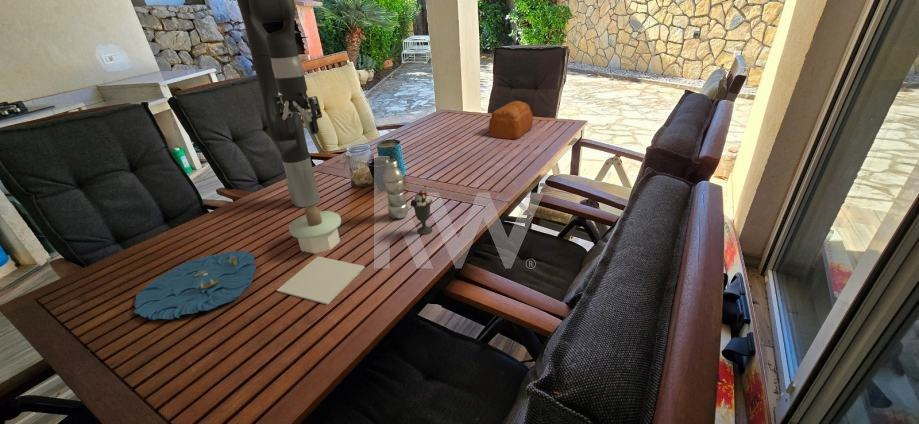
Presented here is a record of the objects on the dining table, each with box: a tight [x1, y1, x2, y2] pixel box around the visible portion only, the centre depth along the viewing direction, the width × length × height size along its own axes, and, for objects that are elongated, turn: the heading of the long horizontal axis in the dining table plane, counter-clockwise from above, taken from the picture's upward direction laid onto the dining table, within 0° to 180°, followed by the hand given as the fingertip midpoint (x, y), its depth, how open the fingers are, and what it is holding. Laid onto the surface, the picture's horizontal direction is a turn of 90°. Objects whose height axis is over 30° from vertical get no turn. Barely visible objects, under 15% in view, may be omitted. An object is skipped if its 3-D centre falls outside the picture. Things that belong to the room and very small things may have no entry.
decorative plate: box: [133, 249, 257, 320], centre depth 105 cm, size 30×30×5 cm
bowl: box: [297, 228, 341, 254], centre depth 121 cm, size 11×12×6 cm
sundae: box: [410, 185, 433, 235], centre depth 122 cm, size 7×7×15 cm
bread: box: [488, 100, 534, 140], centre depth 211 cm, size 17×24×15 cm
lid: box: [288, 205, 342, 239], centre depth 118 cm, size 15×15×6 cm
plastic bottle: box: [382, 158, 409, 220], centre depth 130 cm, size 6×7×20 cm
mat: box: [276, 255, 366, 306], centre depth 105 cm, size 16×16×1 cm
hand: (303, 132), depth 115 cm, fingers open, 8 cm apart
